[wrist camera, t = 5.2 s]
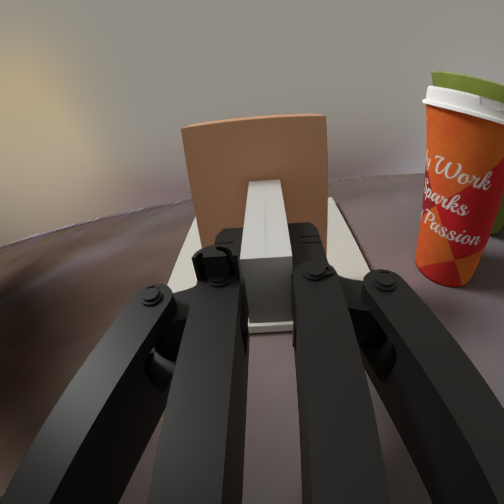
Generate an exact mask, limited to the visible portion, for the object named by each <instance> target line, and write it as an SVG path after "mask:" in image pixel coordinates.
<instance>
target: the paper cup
mask: <svg viewBox="0 0 504 504" xmlns="http://www.w3.org/2000/svg"><path fill="white" fill-rule="evenodd" d="M422 103H425V104H426V114H427V115H426V117H427V146H426V147H427V148H426V169H425V184H424V195H423V205H422V214H421V222H420V229H419V236H418V243H417V250H416V260H415V261H416V265H417V267H418V269H419V270H420V272H421V273H422V274H423V275H424V276H425V277H427V278H428V279H430V280H431V281H433V282H435V283H437V284H440V285H443V286H447V287H461V286H464V285H466V284H467V283H468V282H469V281H470V279H471V278H472V276H473V274H474V272H475V270H476V267H477V265H478V263H479V261H480V259H481V256H482V254H483V251H484V249H485V246H486V244H487V241H488V239H489V236H490V233H491V230H492V228H493V225H494V222H495V219H496V216H497V213H498V210H499V206H500V203H501V199H502V196H503V192H504V103H501V102H498V101H495V100H492V99H489V98H485V97H482V96H478V95H474V94H470V93H466V92H462V91H458V90H453V89H448V88H442V87H436V86H429V87H428V89H427V95H426V99H423V101H422Z"/></svg>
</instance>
